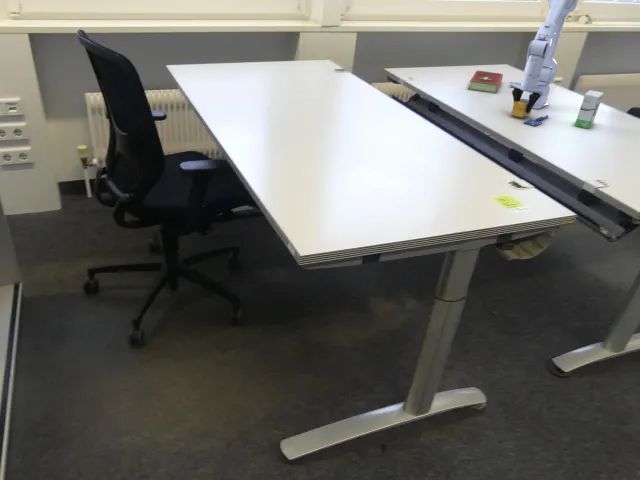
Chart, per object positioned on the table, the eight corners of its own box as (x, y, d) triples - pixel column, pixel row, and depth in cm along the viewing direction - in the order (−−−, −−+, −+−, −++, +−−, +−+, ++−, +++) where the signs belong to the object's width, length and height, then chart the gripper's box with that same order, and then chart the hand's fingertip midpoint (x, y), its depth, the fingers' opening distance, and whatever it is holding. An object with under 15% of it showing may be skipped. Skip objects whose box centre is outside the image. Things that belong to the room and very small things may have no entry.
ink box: (587, 129, 204) (599, 97, 197) (573, 125, 206) (584, 94, 200) (593, 123, 210) (604, 92, 203) (579, 120, 212) (590, 89, 206)
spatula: (541, 115, 215) (542, 112, 215) (552, 118, 213) (553, 115, 212) (523, 123, 207) (524, 120, 206) (534, 126, 204) (535, 123, 203)
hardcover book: (501, 82, 256) (503, 73, 254) (496, 93, 240) (498, 83, 238) (474, 78, 260) (477, 69, 258) (468, 89, 244) (470, 79, 242)
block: (519, 111, 216) (523, 98, 213) (530, 114, 214) (534, 101, 211) (510, 114, 212) (514, 101, 209) (521, 117, 209) (525, 104, 207)
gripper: (508, 71, 207) (499, 107, 214) (545, 80, 198) (534, 117, 205) (517, 69, 211) (507, 104, 218) (554, 77, 202) (543, 113, 210)
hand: (521, 110), depth 212 cm, fingers closed on block, 4 cm apart
